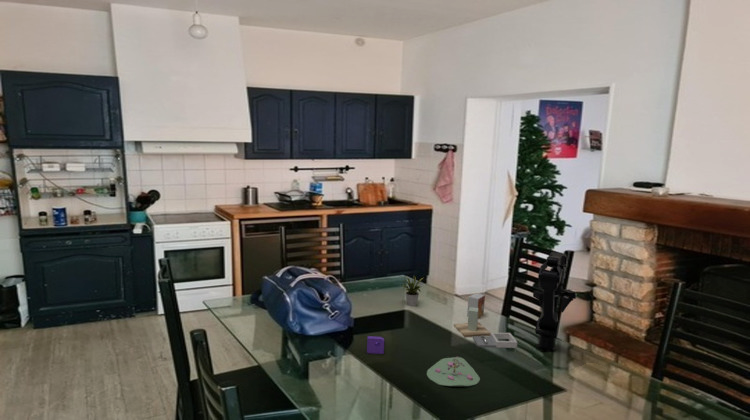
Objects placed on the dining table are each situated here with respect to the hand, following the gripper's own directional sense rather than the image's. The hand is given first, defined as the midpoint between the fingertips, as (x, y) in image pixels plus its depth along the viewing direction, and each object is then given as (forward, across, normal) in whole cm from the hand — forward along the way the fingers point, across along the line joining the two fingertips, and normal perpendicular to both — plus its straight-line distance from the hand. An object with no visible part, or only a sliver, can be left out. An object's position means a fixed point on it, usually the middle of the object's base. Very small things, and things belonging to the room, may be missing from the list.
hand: (552, 312), depth 227 cm
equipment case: (+11, +30, +3) cm, 32 cm away
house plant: (+11, +54, -48) cm, 73 cm away
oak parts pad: (+11, +34, -10) cm, 38 cm away
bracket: (+12, +83, 0) cm, 84 cm away
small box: (+11, +25, -28) cm, 39 cm away
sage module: (+10, +34, -10) cm, 37 cm away
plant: (+12, +58, +25) cm, 64 cm away
